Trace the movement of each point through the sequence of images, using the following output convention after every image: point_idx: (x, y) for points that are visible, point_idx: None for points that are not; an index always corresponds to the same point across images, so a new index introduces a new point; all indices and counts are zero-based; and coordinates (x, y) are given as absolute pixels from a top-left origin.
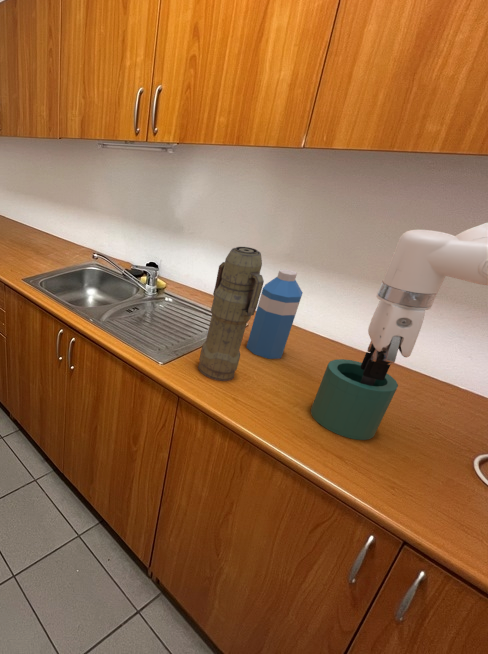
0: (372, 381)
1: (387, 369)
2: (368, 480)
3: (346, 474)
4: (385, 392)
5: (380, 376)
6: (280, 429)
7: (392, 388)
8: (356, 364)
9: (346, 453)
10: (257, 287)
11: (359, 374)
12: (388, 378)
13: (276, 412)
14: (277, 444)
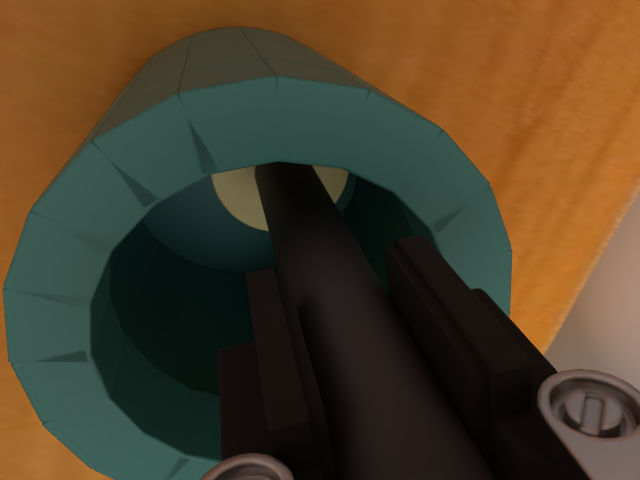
0: (368, 263)
1: (480, 312)
2: (602, 45)
3: (604, 114)
4: (466, 160)
5: (481, 289)
6: None
7: (385, 121)
8: (102, 388)
9: (478, 124)
10: None
11: (109, 294)
12: (187, 158)
13: None
14: (554, 308)
